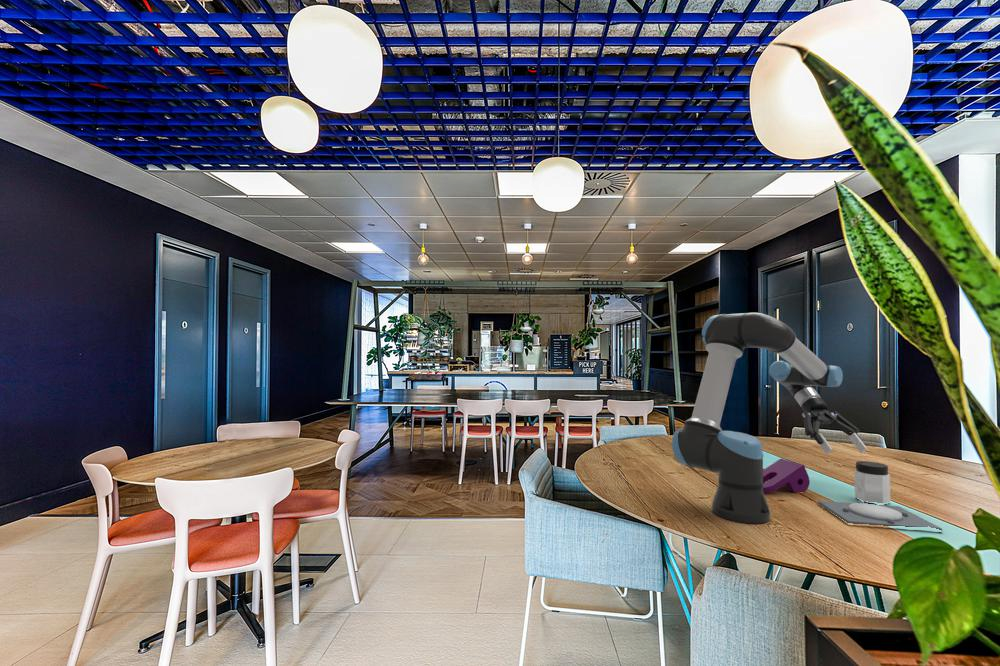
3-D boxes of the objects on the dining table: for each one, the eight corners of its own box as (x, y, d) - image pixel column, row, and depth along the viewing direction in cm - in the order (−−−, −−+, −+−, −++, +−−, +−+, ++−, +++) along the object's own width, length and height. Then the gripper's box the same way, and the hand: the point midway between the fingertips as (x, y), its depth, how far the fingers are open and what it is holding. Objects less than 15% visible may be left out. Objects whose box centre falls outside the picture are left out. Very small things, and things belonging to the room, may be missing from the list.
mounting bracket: (774, 512, 153) (812, 486, 157) (764, 490, 153) (803, 464, 157) (752, 503, 162) (789, 478, 167) (743, 482, 162) (780, 458, 166)
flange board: (848, 525, 127) (848, 517, 127) (818, 504, 144) (818, 497, 144) (942, 533, 122) (942, 524, 122) (899, 510, 140) (898, 503, 140)
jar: (849, 496, 153) (848, 460, 153) (874, 497, 152) (874, 460, 153) (869, 505, 144) (868, 467, 144) (896, 506, 143) (895, 467, 144)
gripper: (834, 408, 178) (871, 456, 162) (776, 408, 174) (808, 457, 159) (846, 396, 173) (885, 444, 157) (786, 396, 169) (820, 445, 154)
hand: (846, 451), depth 158 cm, fingers open, 13 cm apart
